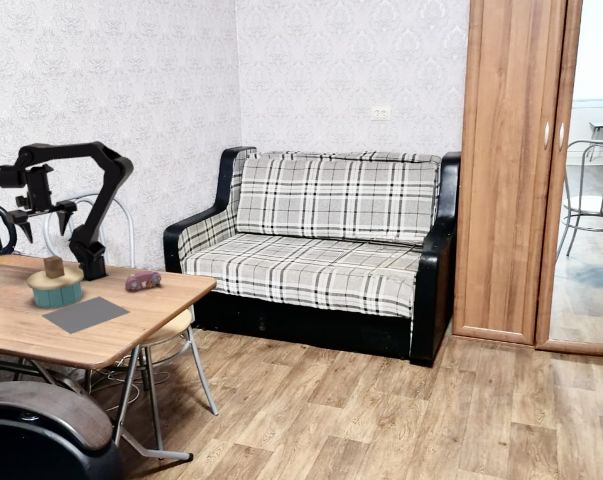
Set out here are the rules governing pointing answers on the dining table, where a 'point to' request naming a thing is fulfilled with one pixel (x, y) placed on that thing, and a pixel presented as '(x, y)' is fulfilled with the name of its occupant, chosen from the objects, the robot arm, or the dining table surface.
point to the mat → (85, 314)
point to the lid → (55, 275)
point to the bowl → (58, 296)
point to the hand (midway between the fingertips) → (47, 239)
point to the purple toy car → (143, 279)
